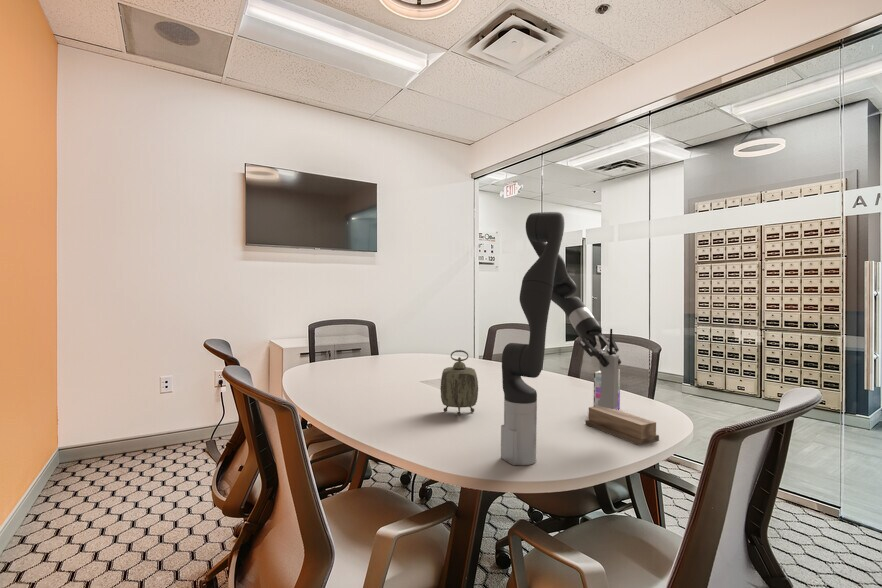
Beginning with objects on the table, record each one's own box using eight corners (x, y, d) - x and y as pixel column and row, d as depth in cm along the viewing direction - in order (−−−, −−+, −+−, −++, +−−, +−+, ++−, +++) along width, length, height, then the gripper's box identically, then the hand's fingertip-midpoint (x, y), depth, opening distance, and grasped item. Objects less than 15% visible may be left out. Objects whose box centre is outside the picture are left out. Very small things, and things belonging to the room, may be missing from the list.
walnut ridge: (638, 444, 132) (638, 425, 132) (585, 424, 151) (585, 407, 151) (658, 439, 136) (659, 421, 136) (605, 420, 156) (605, 404, 156)
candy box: (607, 416, 162) (608, 373, 162) (592, 412, 166) (593, 371, 166) (620, 408, 172) (620, 369, 172) (606, 406, 176) (606, 367, 176)
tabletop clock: (476, 411, 166) (477, 349, 166) (478, 418, 157) (478, 352, 157) (440, 410, 167) (441, 348, 167) (440, 417, 158) (440, 351, 158)
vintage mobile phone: (602, 403, 136) (603, 327, 135) (617, 407, 132) (619, 328, 132) (597, 406, 133) (599, 328, 132) (613, 409, 130) (615, 329, 129)
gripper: (574, 316, 136) (603, 359, 125) (606, 316, 142) (636, 356, 132) (562, 331, 141) (589, 373, 130) (593, 330, 147) (621, 370, 136)
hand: (612, 364), depth 131 cm, fingers closed on vintage mobile phone, 4 cm apart
